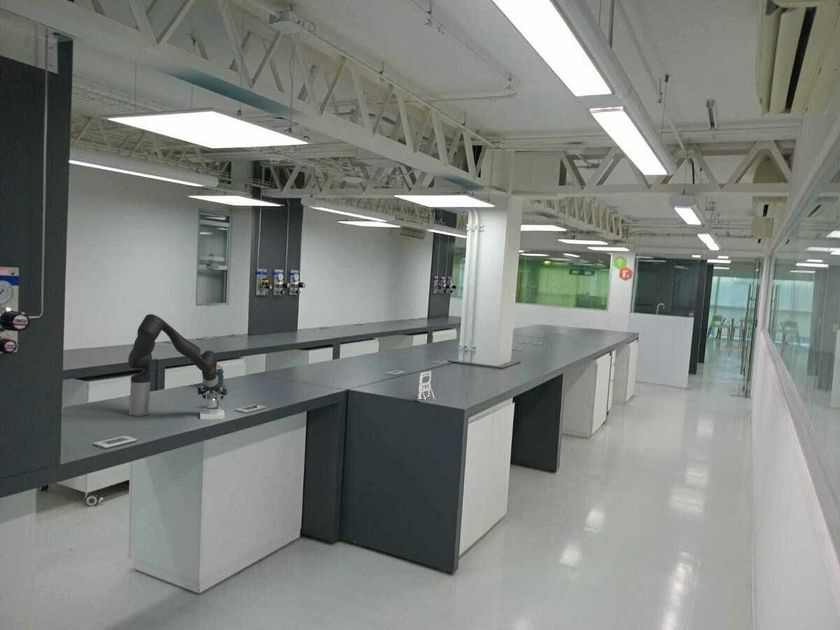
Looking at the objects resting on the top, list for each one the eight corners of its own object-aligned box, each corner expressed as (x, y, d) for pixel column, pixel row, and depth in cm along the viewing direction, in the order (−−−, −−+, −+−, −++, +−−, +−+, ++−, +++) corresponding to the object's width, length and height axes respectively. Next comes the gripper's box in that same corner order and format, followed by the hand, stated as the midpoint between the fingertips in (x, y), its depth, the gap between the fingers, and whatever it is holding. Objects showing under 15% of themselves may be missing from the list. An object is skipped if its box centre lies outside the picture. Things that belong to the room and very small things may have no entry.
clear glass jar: (208, 414, 318) (209, 395, 317) (204, 412, 322) (205, 393, 321) (218, 413, 321) (219, 394, 320) (214, 411, 325) (215, 392, 325)
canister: (197, 388, 390) (199, 361, 389) (214, 386, 401) (215, 360, 400) (210, 392, 383) (212, 364, 382) (227, 389, 394) (228, 362, 392)
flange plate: (200, 419, 314) (200, 410, 314) (200, 413, 325) (200, 405, 325) (224, 418, 318) (224, 410, 318) (223, 413, 329) (224, 405, 329)
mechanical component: (207, 409, 335) (208, 392, 335) (224, 407, 343) (225, 390, 342) (210, 410, 333) (210, 393, 333) (227, 409, 340) (228, 391, 340)
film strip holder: (419, 398, 407) (421, 369, 406) (437, 401, 400) (439, 371, 399) (408, 401, 394) (410, 371, 393) (426, 405, 388) (428, 374, 386)
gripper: (194, 386, 307) (198, 403, 319) (224, 387, 309) (226, 404, 321) (197, 373, 312) (200, 391, 324) (226, 375, 314) (228, 392, 326)
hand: (213, 397), depth 323 cm, fingers open, 8 cm apart
